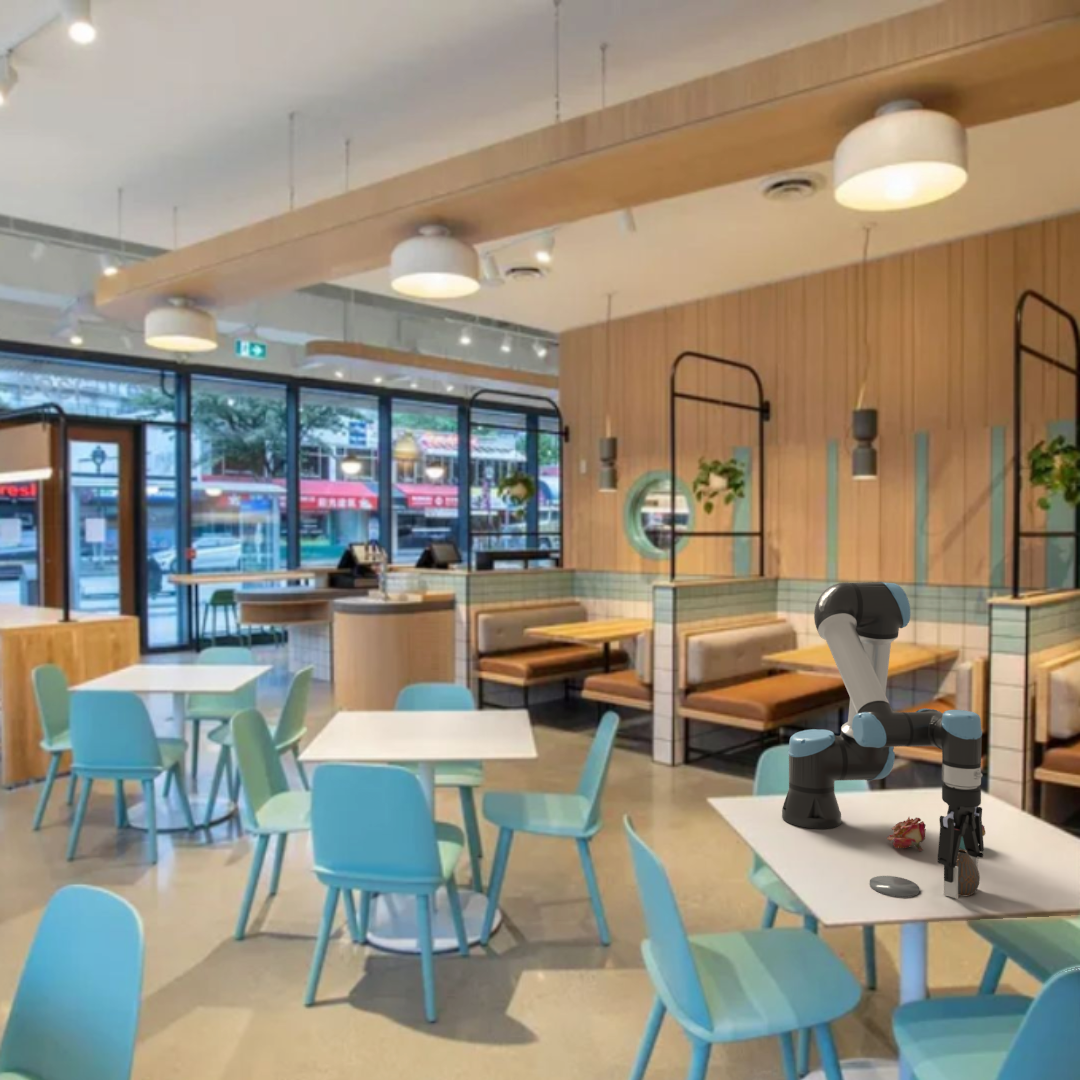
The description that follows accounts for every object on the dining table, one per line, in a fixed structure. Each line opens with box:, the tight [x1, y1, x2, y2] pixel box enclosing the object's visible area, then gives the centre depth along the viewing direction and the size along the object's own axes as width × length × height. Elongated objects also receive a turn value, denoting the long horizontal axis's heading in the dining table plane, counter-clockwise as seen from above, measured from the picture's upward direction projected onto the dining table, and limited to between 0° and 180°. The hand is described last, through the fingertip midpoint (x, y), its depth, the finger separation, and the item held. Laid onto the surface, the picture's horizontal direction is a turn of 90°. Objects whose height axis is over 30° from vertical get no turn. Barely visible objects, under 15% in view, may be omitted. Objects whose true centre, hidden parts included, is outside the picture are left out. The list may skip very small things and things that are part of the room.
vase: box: [956, 848, 980, 897], centre depth 188 cm, size 7×7×9 cm
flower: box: [886, 816, 927, 852], centre depth 213 cm, size 10×9×8 cm
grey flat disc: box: [869, 875, 920, 898], centre depth 190 cm, size 10×10×1 cm
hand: (960, 891), depth 188 cm, fingers open, 8 cm apart
